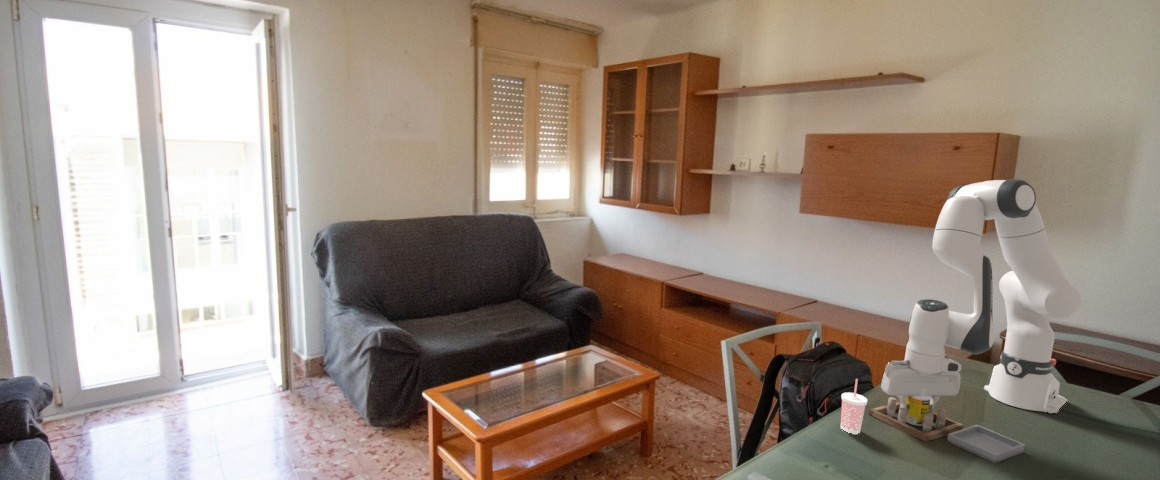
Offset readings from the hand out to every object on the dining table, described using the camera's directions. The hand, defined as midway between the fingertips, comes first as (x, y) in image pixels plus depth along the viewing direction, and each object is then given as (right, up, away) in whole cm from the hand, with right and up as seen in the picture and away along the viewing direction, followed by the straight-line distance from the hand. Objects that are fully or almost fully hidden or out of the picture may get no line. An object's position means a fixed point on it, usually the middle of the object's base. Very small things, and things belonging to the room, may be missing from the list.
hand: (916, 409), depth 152 cm
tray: (+11, -6, -11) cm, 16 cm away
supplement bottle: (0, -4, +1) cm, 4 cm away
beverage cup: (-21, -4, -6) cm, 22 cm away
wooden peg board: (0, -4, +1) cm, 4 cm away
